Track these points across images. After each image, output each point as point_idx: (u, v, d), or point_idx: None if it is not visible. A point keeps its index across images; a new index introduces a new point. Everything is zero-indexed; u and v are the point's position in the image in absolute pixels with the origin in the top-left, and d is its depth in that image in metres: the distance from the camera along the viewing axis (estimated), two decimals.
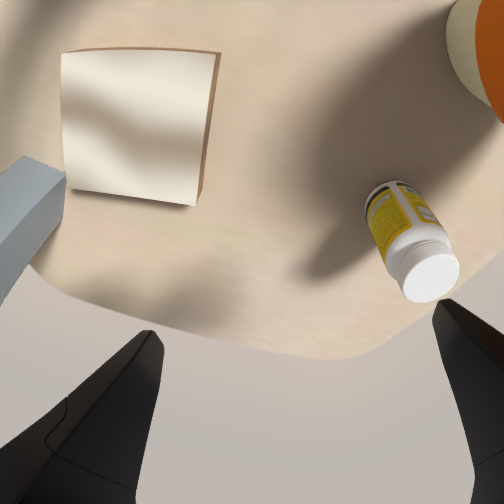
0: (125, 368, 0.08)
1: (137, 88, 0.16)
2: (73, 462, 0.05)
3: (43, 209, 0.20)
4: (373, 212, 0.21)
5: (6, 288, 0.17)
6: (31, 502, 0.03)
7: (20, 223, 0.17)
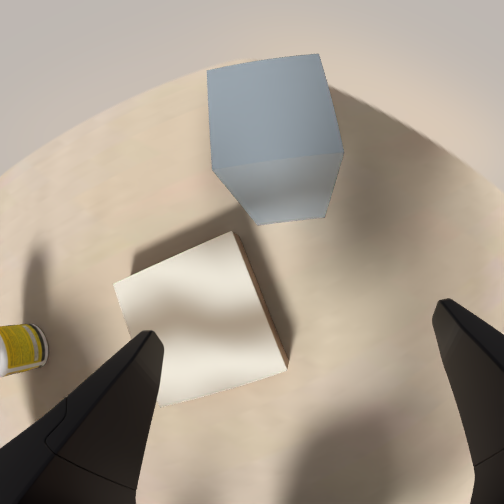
0: (125, 368, 0.08)
1: (197, 364, 0.21)
2: (73, 463, 0.05)
3: None
4: (34, 344, 0.24)
5: None
6: (31, 502, 0.03)
7: (238, 199, 0.17)
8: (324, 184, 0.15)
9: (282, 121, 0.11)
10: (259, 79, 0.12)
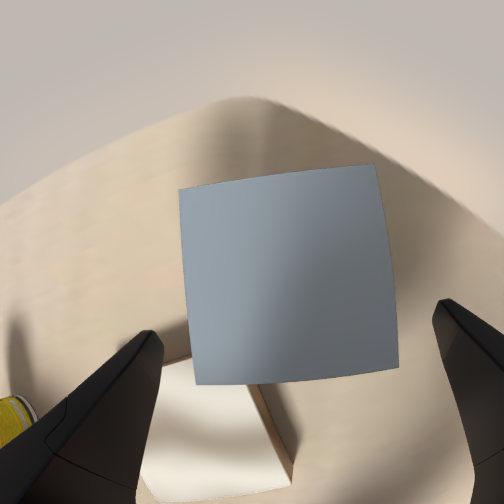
0: (125, 368, 0.08)
1: (194, 474, 0.16)
2: (72, 463, 0.05)
3: None
4: (23, 421, 0.19)
5: None
6: (31, 502, 0.03)
7: None
8: None
9: (308, 312, 0.07)
10: (270, 219, 0.07)
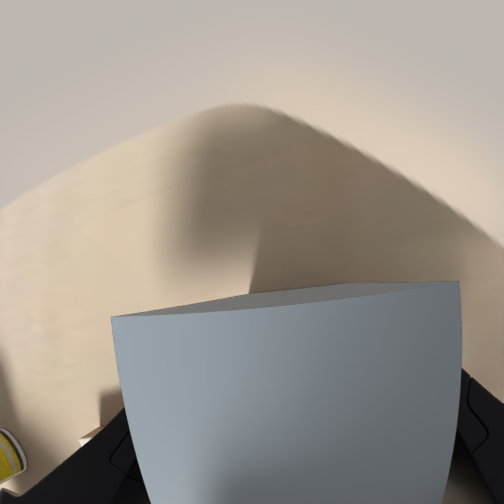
0: None
1: None
2: None
3: None
4: (9, 459, 0.16)
5: None
6: None
7: None
8: None
9: None
10: (267, 390, 0.04)
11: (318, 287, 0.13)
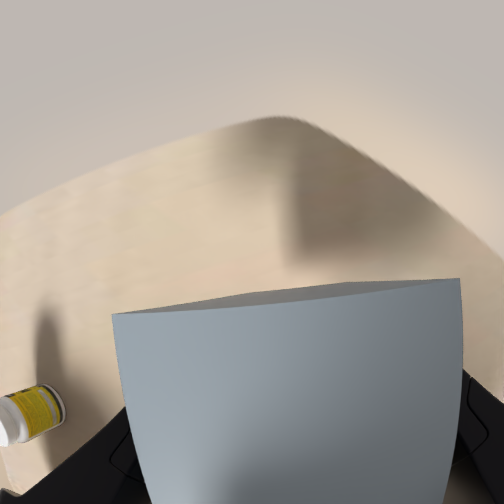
0: None
1: None
2: (143, 481, 0.05)
3: None
4: (51, 410, 0.22)
5: None
6: None
7: None
8: None
9: None
10: (268, 387, 0.04)
11: (318, 286, 0.13)
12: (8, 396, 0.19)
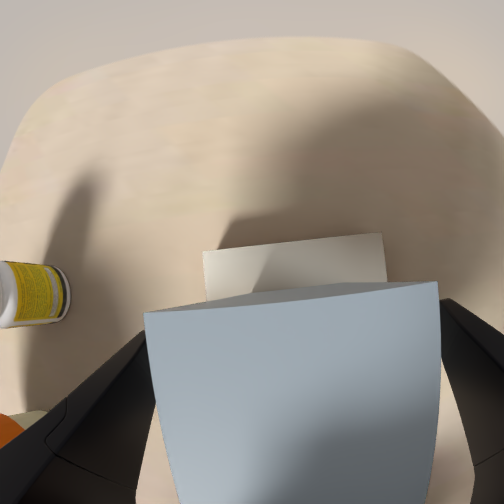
0: (125, 368, 0.08)
1: None
2: (72, 463, 0.05)
3: None
4: (54, 295, 0.20)
5: None
6: (31, 502, 0.03)
7: None
8: None
9: (325, 478, 0.04)
10: (279, 371, 0.05)
11: None
12: (5, 261, 0.17)
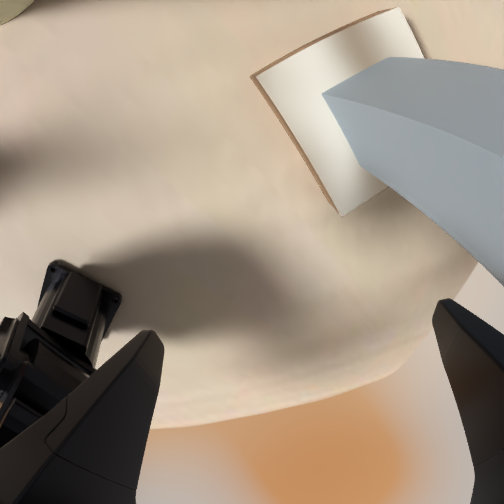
0: (125, 368, 0.08)
1: (335, 120, 0.16)
2: (73, 463, 0.05)
3: (371, 89, 0.12)
4: None
5: None
6: (31, 502, 0.03)
7: (393, 110, 0.09)
8: (443, 222, 0.10)
9: None
10: None
11: None
12: None
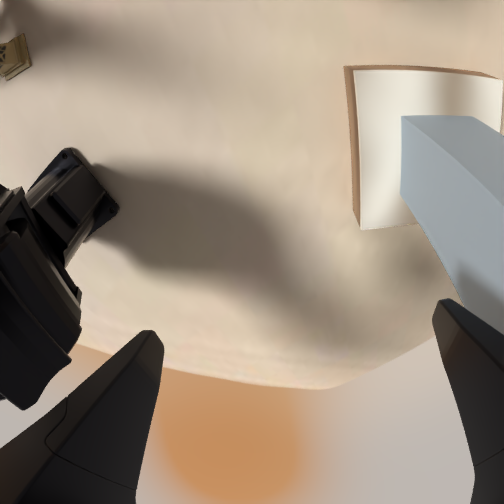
0: (125, 368, 0.08)
1: (400, 144, 0.15)
2: (73, 463, 0.05)
3: (452, 138, 0.11)
4: None
5: None
6: (31, 502, 0.03)
7: (470, 170, 0.09)
8: (459, 283, 0.11)
9: None
10: None
11: None
12: None
